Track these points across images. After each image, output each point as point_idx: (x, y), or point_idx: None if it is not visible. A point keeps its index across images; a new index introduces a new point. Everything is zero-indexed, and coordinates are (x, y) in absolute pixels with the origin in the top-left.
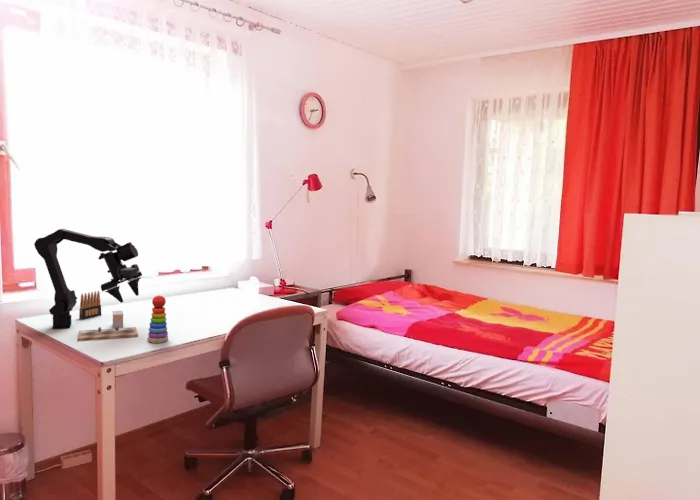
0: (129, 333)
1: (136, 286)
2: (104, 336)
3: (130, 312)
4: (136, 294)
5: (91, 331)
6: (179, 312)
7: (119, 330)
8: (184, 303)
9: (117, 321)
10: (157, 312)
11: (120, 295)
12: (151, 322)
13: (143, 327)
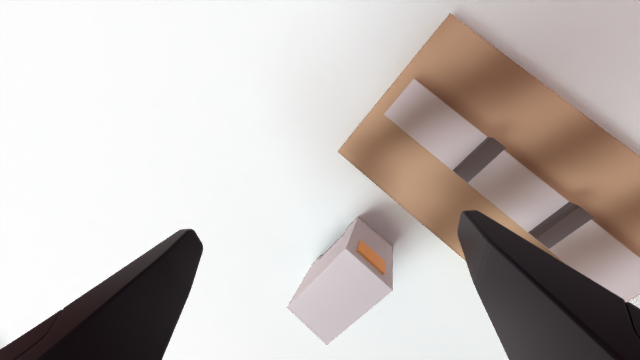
0: (460, 71)
1: (65, 333)
2: (605, 136)
3: (185, 346)
4: (192, 252)
5: (600, 248)
6: (81, 204)
7: (482, 133)
8: (23, 270)
9: (375, 249)
10: None
11: (562, 288)
12: None
13: (295, 149)
